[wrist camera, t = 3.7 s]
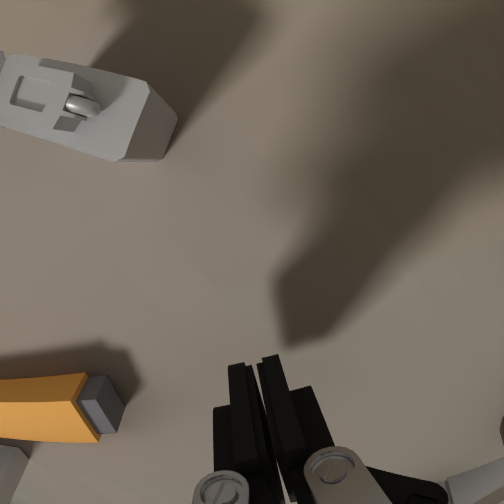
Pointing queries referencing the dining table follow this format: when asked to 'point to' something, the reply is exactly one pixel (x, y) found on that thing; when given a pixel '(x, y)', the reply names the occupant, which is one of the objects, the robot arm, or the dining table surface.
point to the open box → (10, 471)
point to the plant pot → (502, 430)
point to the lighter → (85, 108)
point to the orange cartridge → (59, 408)
